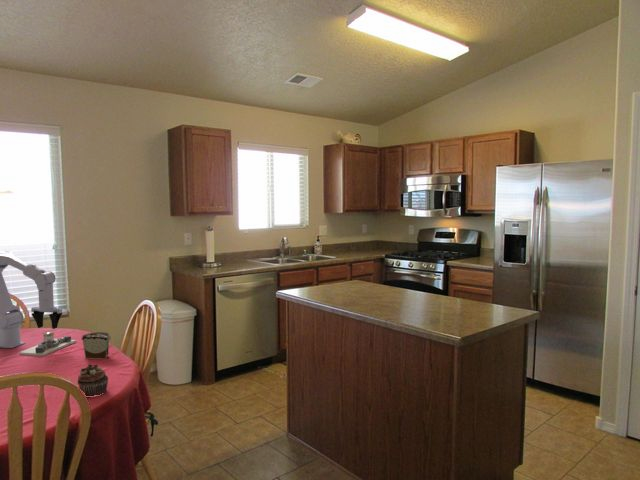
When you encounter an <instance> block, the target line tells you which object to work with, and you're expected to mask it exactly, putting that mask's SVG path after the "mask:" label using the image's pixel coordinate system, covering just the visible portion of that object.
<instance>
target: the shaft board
mask: <svg viewBox="0 0 640 480" xmlns="http://www.w3.org/2000/svg"><path fill="white" fill-rule="evenodd" d="M57 339H58V338H54V343H53V344H49V345H47V349H45V351H44V352H43V353H36V349H35V348H36V347H40V346H41V345H43V344H44V340H43V341H41V342H38V344H36V345H35V346H31V347H30V348H27V349H24V350H21V351H19V352H18V354H19V355H21V356H23V355H24V356H35V357H45V356H47V355H49V354H53V353H54V352H57V351H58V350H61V349H63V348H65V347H68V346H71V345H72V344H75V343H77V340H76V339H71V341H69V342H62V343H59V341H58V340H57ZM70 344H71V345H70Z"/></svg>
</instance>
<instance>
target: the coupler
mask: <svg viewBox="0 0 640 480" xmlns="http://www.w3.org/2000/svg"><path fill="white" fill-rule="evenodd" d="M54 339H55V333H54V331H47V332H43V341H44V344H46V345H49V344H53V343H54Z"/></svg>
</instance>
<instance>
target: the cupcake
mask: <svg viewBox="0 0 640 480" xmlns="http://www.w3.org/2000/svg"><path fill="white" fill-rule="evenodd" d="M108 383H109V376H107V374H106V371H105V370H103V369H102V368H101V367H100V366H98V364H96V365H95V364H94V365H92V364H88V365H87V366H86V367H85V368H81V369H80V370H79V375H78V376H77V385H78V388H79V390H80V389H81V390H82V391H83V392H84V393H85V395H86V396H94V395H100V394H102V393H104V394H106V393H105V391H106V392H107V387H108Z"/></svg>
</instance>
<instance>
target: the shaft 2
mask: <svg viewBox="0 0 640 480" xmlns="http://www.w3.org/2000/svg"><path fill="white" fill-rule="evenodd" d="M56 339H57V340H58V341H59V343H62V342H69V341H71V340H72V336H71V335H63V336H62V337H58V338H56Z"/></svg>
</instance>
